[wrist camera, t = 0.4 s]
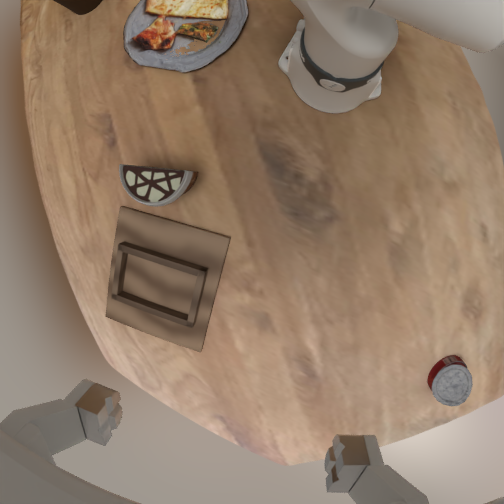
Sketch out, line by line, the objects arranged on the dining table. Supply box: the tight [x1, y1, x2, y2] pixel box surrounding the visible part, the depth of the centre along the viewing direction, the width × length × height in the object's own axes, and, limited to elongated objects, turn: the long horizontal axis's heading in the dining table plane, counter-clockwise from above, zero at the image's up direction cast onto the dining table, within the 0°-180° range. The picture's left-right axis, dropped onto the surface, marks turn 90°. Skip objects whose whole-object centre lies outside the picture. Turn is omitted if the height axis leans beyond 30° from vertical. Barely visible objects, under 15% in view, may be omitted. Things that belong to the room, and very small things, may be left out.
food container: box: [119, 164, 198, 206], centre depth 48 cm, size 12×6×10 cm, turn 81°
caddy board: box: [106, 206, 231, 352], centre depth 56 cm, size 24×22×4 cm
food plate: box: [123, 0, 248, 72], centre depth 45 cm, size 25×23×4 cm
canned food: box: [428, 355, 472, 406], centre depth 53 cm, size 11×10×10 cm
